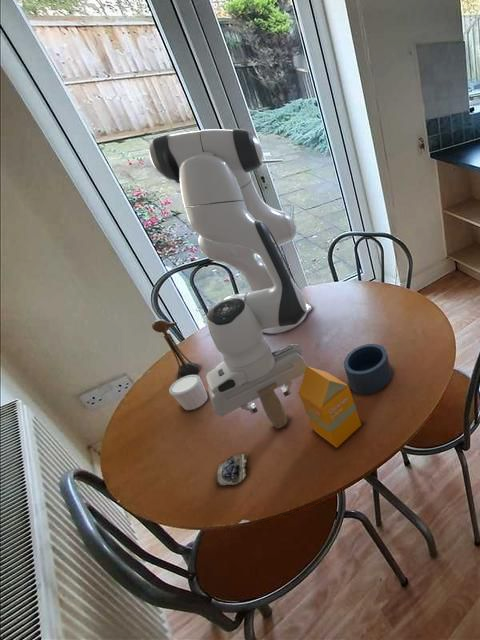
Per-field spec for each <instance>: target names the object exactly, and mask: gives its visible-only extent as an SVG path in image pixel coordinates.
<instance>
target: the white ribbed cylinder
mask: <svg viewBox="0 0 480 640" xmlns="http://www.w3.org/2000/svg"><path fill="white" fill-rule="evenodd" d="M168 392H169V394H170V395H171V396H172V397H173V398H174V399H175V400H176V401H177V403H178V404H179V405H180V406H181V407H182V408H183V410H185V411H192V410H196V409H198V408H200V407H202V406H203V405H204V404H205V403H206V402H207V401H208V399H209V395H208V393H207V391H206V389H205V386H204V384H203V381H202V378H201V377H200V375H198V374H194V375H187V376H185V377H182V378H181V377H179V379H177V380H175V381H174V382H173V383H172V384H171V385H170V387H169V389H168Z"/></svg>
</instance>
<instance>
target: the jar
mask: <svg viewBox="0 0 480 640" xmlns="http://www.w3.org/2000/svg"><path fill="white" fill-rule="evenodd" d="M343 369H344V371H345V375H346V377H347V381H348V385H349V387H350V389H351V390H352V391H353V392H354V393H356V394H359V395H369V394H374V393H376V392H379V391H380V390H382V389H383V388H384V387H386V386H387V385H388V383H389V382H390V381H391V378H392V369H391V364H390V360H389V357H388V353H387V349H386V348H385V347H384V346H382V345H380V344H377V343H365V344H363V345H359V346H357V347H355V348H354V349H352V350H351V351H349V352H348V353H347V355H346V356H345V358H344V361H343Z"/></svg>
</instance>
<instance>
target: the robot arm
mask: <svg viewBox="0 0 480 640" xmlns="http://www.w3.org/2000/svg"><path fill="white" fill-rule="evenodd" d="M149 158H150V161H151V164H152V165H153V167H154V168H155V169H156V172H158V174H159V175H160V176H162V177H163V178H166V179H167V180H170V181H175V183H176V184H178V185H179V187H180V193H181V198H182V203H183V205H184V206H183V207H184V211H185V214H186V216H187V219H188V222H189V224H190V226H191V228H192V230H193V231H194V232H195V234H197V236H198V240H197V244H198V248H199V250H200V252H201V253H202V254H203V256H205V257H206V258H207V259H209V260H211V261H214V262H218V263H222V264H226V265H228V266H230V267H233V268H234V269H235V270H237V271H238V272H239V273H240V274H241V275H242V277H243V278H244V280H245V283H246V284H247V285H248V287H249V289H250V291H246V292H242V293H235V294H231V295H229V296H225V297H223V298H222V299H221V300H220V301H218V302H216V303H215V304H213V305H212V306H211V307H210V308H209V309H208V311H207V312H206V317H205V318H206V324H207V328H208V332H209V334H210V337H211V339H212V341H213V343H214V345H215V347H216V350H217V351H218V352H219V353H221V354H222V356H223V361H221V362H220V363H219V364H218V365H216V366H215V367H214V368H212V369H211V370H209V371H208V372H207V373H206V377H205V379H206V383H207V386H208V389H207V392H208V397H209V399H210V403H211V405H212V408H213V410H214V413H215V415H216V416H219V417H223V416H226V415H228V414H229V413H232V412H233V411H236V410H238V409H239V408H241V410H244V411H247V412H249V413H250V415H254V414H256V413H257V412H259V409H258V408H257V406H256V404H255V403H254V402H253V401H255V400H257V399H260V398H259V397H261V396H259V395H260V394H259V393H257V391H259V390H261V389H263V388H265V387H267V386H269V385H271V384H273V383H275V382H276V383H277V387H276V388H275V389H274V390H276V389H278V388H280V387H281V388H280V390H281V392H282V394H283V396H284V397H285V398H286V397H288V396H290V395H291V394H292V392H291V391H290V390H291V387H292V384H293V382H292V381H294V380H295V379H297V378H300V377H301V376H304V374H305V370H306V367H307V366H308V365H307V363H306V361H305V360H304V358H303V356H302V355H303V348H302V347H301V345H300V344H297V343H295V344H292V343H290V344H287V345H285V346H284V347H282V348H279V349H277V350H275V351H272V349H271V347H270V344H269V342H268V341H267V340H266V339H265V338H264V333H265V334H280V333H284V332H287V331H290V330H292V329H294V328H296V327H298V326H299V325H300V324H301V323H303V321H304V320H305V319H306V316H307V315H308V313H310V311H311V310H312V309H313V308H312V306H311V305H310V304H308V303H307V300H306V297H305V295H304V293H303V292H302V291H301V288H300V287H299V285H298V284H297V282H296V280H295V278H294V276H293V273H292V272H291V270H290V267H289V265H288V264H287V261H286V259H285V257H284V255H283V252H282V251H281V249H280V247H281V246H283V245H285V244H287V243H289V242H291V241H294V239H295V238H296V236H297V232H298V229H297V224H296V221H295V220H294V218H293V217H292V216H291V215H290V214H288V213H287V212H285V211H282V210H278V209H276V208H273V207H271V206H270V205H268V204H267V203H266V202H264V201H263V200H262V198H261V197H260V195H259V193H258V191H257V188H256V186H255V184H254V180H253V179H252V175H251V172H254V171H257V170H259V168H260V167H261V166H262V164H263V158H264V152H263V148H262V145H261V143H260V141H259V140H258V139H257V138H256V136H255V134H254V133H253V132H251V131H250V130H248V129H242V128H233V129H220V128H219V129H217V128H213V129H201V130H196V131H195V130H194V131H187V132H186V131H185V132H180V133H175V134H170V133H166V134H162V135H159V136H156V137H153V138H152V140H151V141H150V142H149ZM282 386H283V387H282ZM262 396H263V395H262ZM251 402H252V403H251Z"/></svg>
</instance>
